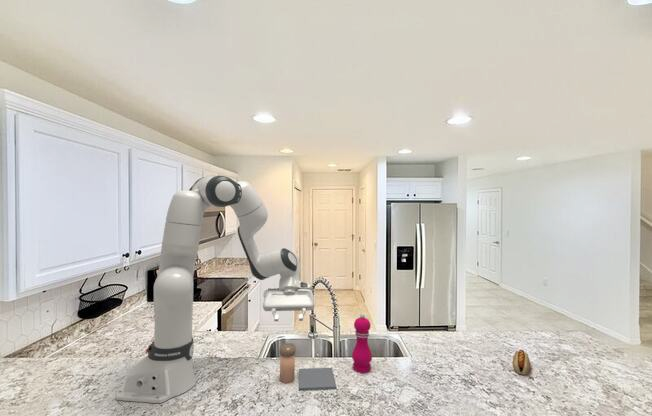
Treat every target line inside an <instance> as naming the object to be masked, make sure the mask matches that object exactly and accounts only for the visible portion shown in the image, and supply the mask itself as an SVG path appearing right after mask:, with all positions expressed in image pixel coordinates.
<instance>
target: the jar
mask: <svg viewBox="0 0 652 416" xmlns="http://www.w3.org/2000/svg"><path fill="white" fill-rule="evenodd" d="M296 347H297V346H296V345H295V344H293V343H290V342H289V343H288V342H286V343H283V344H281V345H279V356H280V357H279V382H281V383H282V384H291V383H293V382H294V381H295V372H296V371H295V370H296V369H295V368H296V365H295V364H296V353H297V351H296Z"/></svg>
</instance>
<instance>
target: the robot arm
mask: <svg viewBox="0 0 652 416" xmlns="http://www.w3.org/2000/svg"><path fill="white" fill-rule="evenodd" d="M229 206H230V208H231V209H232V210H233V212H234V215H236V217H237V218H238V219H237V220H238V223H239V225H238V227H237V236H238V238H239V241H240V244H241V247H242V249H243V252H244V253H245V256H246V259H247V262H248V265H249V268H250V272H251V274H252V276H253V277H255V278H256V279H257V280H260V281H264V280H265V279H269V278H270V277H274V276H276V275H279V277H280V278H279V281H278V283H279V284H278V288H277V287H275V288H270V287H269V288H267V289H265V290H264V292H263V298H264V299H263V303H262V308H263V310H264V311H265V312H271V314H272V315H273V317H274V318H273V321H274V322H279V315H278V314H276V312H291V311H292V312H296V311H298V312H300V311H301V314H299V315H298V321H300V322H303V320H304V316H305V314H306V311H313V310H314V309H315V305H316V303H315V296H314V293H313V290H312V288H311V283H308V282H305V281H301V278H300V276H301V264H300V259H299V256H298V254H296V253H294V252H292V251H291V250H290V249H287V248H285V247H283V248H279V249H276V250H273V251H270V252H268V253H265V254H261V253H260V252H259V249H258V248H257V244H256V242H255V240H254V236H255V235H256V234H257V233H258V232H259V231H260V230H261V229H262V228H263V227H264V226H265V224H266V222H267V221H268V216H269V215H268V213H269V212H268V210H267V208H266V205H265V204H264V202H263V200H262V199H261V197H260V195H259V193H258V192H257V190H255V188H254V187H253V186H252V185H251V183H249V182H248V181H245V180H239V181H235V180H233V179H232V178H230V177H229V176H227V175H226V176H225V175H208V176H204V177H201V178H199V179H197V180H196V181H195V182H194V184H193V185H192V186H191V187H190V188H189V189H184V190H178V191H177V192H175V193H174V194H173V195H172V198H171V201H170V204H169V206H168V210H167V212H166V218H165V223H164V231H163V236H162V240H161V241H162V242H161V249H160V250H161V251H160V258H159V265H158V266H159V267H158V273H157V276H156V278H155V281H154V283H153V310H154V311H153V313H154V329H153V330H154V334H153V335H154V337H153V340H152V341H151V344H149V345H148V347H147V348H146V349H145V354H147V355H146V356H145V357H143V359H140V361H138V362H137V363H136V364H135V365H133V367H132V368H131V369H130V370H129V372H128V374H127V376H126V377H125V379H126V380H125V382H123V383H122V385H120V386H119V388H118V389H117V391H116V393H115V400H116V401H127V402H137V403H139V402H140V403H151V404H152V403H154V404H162V403H164V402H167V401H169V400H171V398H174V397H177V396H179V395H182V394H184V393H186V392H189V390H190V389H192V388H193V387H194V386H195V385H196V384H197V377H196V374H195V373H196V372H195V368H194V361H193V360H194V359H193V356H194V352H195V350H194V337H193V311H194V308H193V307H194V305H193V304H194V275H195V268H196V262H197V257H198V252H199V246H200V240H201V232H202V225H203V220H204V219H203V218H204V214H205V213H206V211H207V210H208V208H210V207H211V208H225V207H229Z"/></svg>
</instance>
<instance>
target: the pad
mask: <svg viewBox="0 0 652 416" xmlns="http://www.w3.org/2000/svg"><path fill="white" fill-rule="evenodd" d="M336 389H337V384H336V378H335V374H334V370H333V367H316V368H315V367H314V368H311V367H310V368H298V391H300V392H302V391H321V390H324V391H326V390H336Z"/></svg>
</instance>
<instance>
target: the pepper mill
mask: <svg viewBox="0 0 652 416" xmlns="http://www.w3.org/2000/svg"><path fill="white" fill-rule="evenodd" d="M370 322H371V321H370V320H369V319H368V318H367V317H366V316H365V314H364V313H360V315H359V317H357V318H356V319H355V320H354V324H353V327H354V329H355V331H354V332H355V337H356V342H355V343H356V344H355V347H354V348H353V350H352V355H351V358H352V361H353V367H352V368H353V370H354V371H355V372H357V373H360V374H365V373H366V374H367V373H369V372H370V371H371V361H372V360H373V355H372V351H371V349H370V347H369V343H368V342H369V341H368V339H369V337H370V331H369V330H370V329H371V323H370Z"/></svg>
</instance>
